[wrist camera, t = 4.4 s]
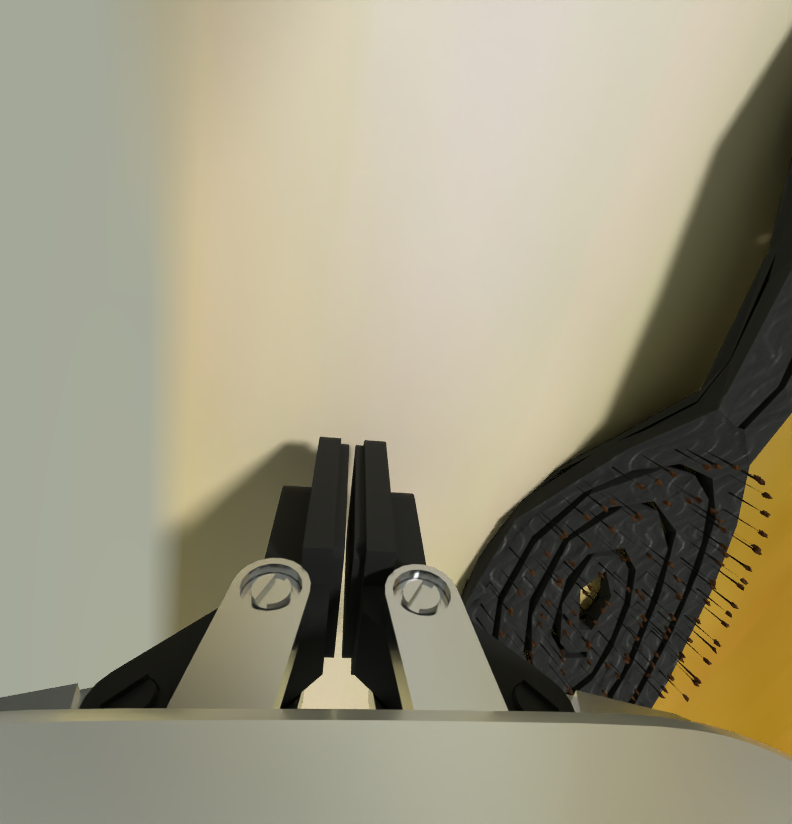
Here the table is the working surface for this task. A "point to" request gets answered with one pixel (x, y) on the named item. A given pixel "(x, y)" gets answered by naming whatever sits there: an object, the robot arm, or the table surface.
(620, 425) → the table surface
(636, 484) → the hairbrush
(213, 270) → the table surface
